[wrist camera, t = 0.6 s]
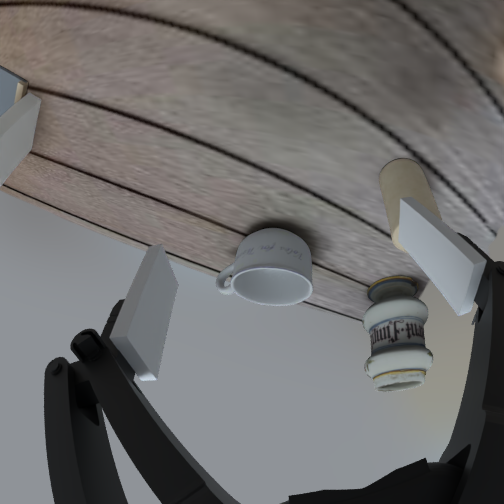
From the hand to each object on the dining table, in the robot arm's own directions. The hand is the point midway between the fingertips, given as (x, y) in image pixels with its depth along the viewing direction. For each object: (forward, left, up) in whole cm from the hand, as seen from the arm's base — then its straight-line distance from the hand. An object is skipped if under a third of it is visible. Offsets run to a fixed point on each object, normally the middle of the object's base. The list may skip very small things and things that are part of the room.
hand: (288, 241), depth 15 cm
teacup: (+22, -4, -17) cm, 28 cm away
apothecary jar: (+33, +19, -17) cm, 41 cm away
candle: (+8, +12, -17) cm, 22 cm away
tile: (-2, -35, -17) cm, 39 cm away
